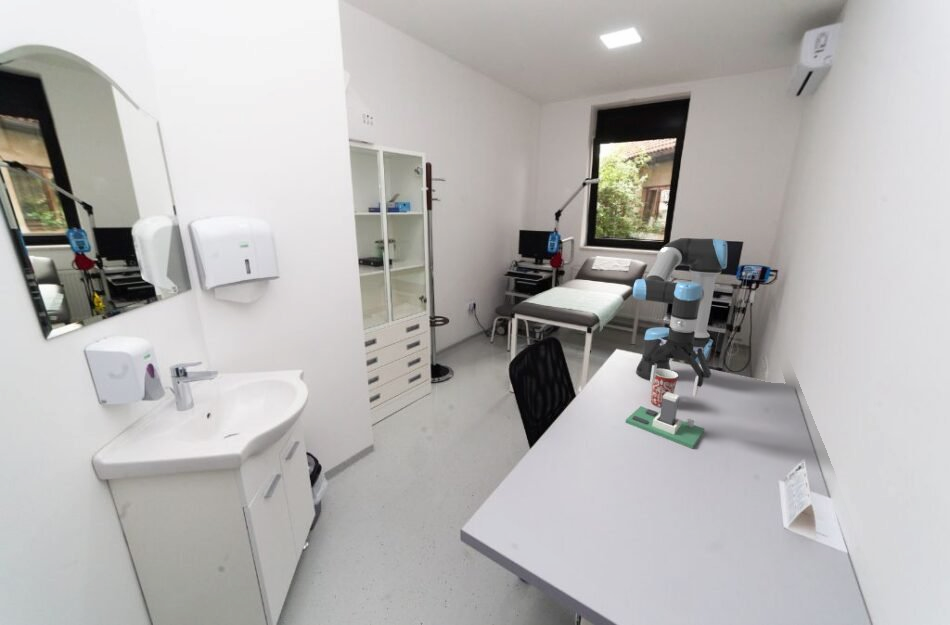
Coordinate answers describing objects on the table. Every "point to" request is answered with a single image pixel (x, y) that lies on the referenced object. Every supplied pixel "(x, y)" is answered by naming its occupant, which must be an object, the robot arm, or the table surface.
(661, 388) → the mug
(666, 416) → the plug
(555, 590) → the table surface
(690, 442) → the board
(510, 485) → the table surface
